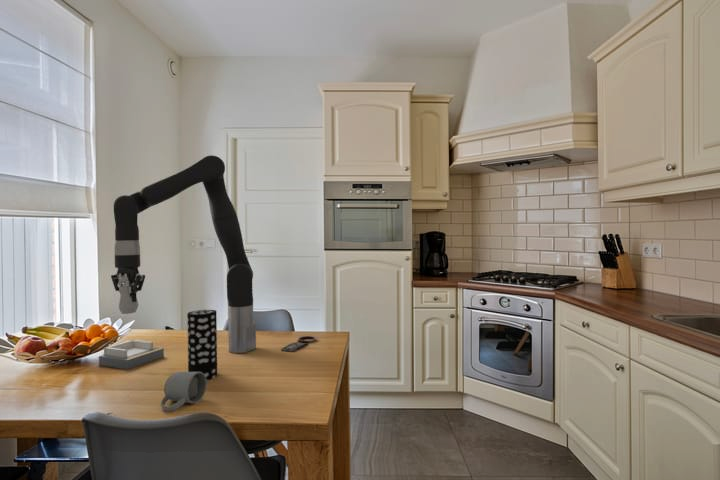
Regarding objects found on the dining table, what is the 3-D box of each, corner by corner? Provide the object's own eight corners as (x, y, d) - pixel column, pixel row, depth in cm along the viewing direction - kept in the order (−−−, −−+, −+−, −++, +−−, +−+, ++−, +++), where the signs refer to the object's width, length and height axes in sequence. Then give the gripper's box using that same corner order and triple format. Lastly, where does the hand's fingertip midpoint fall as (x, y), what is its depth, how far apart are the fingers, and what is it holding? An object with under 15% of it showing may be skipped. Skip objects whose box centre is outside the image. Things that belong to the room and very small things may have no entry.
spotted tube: (223, 373, 118) (222, 310, 118) (204, 382, 110) (203, 315, 110) (202, 370, 121) (201, 309, 121) (182, 379, 113) (181, 314, 113)
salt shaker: (142, 311, 131) (141, 274, 131) (131, 314, 125) (130, 275, 125) (126, 311, 131) (125, 274, 131) (114, 314, 125) (113, 276, 125)
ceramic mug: (182, 393, 103) (181, 365, 102) (207, 395, 101) (207, 367, 100) (152, 411, 92) (151, 380, 92) (180, 414, 90) (179, 383, 90)
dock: (163, 356, 136) (163, 341, 136) (127, 369, 123) (127, 352, 123) (136, 353, 141) (136, 338, 141) (99, 364, 128) (98, 349, 128)
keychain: (277, 351, 142) (277, 346, 142) (303, 339, 159) (303, 334, 159) (295, 353, 139) (295, 348, 139) (319, 340, 156) (319, 335, 156)
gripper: (152, 253, 129) (153, 302, 129) (122, 253, 134) (123, 301, 134) (132, 254, 122) (133, 306, 122) (102, 254, 127) (103, 304, 127)
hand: (128, 303), depth 128 cm, fingers closed on salt shaker, 3 cm apart
